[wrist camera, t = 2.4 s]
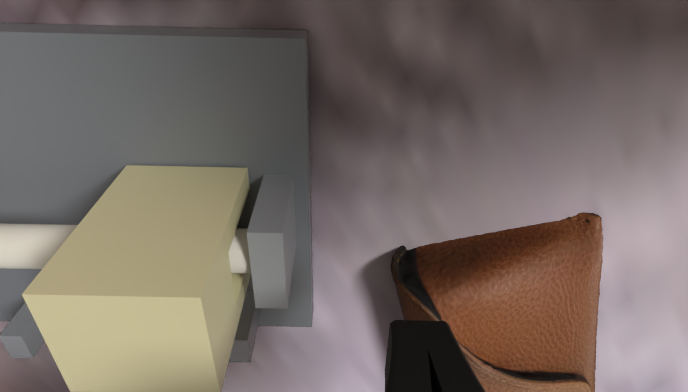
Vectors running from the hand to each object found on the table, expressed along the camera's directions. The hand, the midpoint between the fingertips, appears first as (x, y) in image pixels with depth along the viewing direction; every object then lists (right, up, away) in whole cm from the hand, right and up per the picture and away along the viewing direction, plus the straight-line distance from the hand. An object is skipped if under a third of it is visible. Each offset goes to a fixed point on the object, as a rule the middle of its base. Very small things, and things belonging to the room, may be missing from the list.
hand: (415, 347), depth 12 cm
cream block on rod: (-7, +3, +5) cm, 9 cm away
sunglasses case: (+6, -4, +12) cm, 14 cm away
